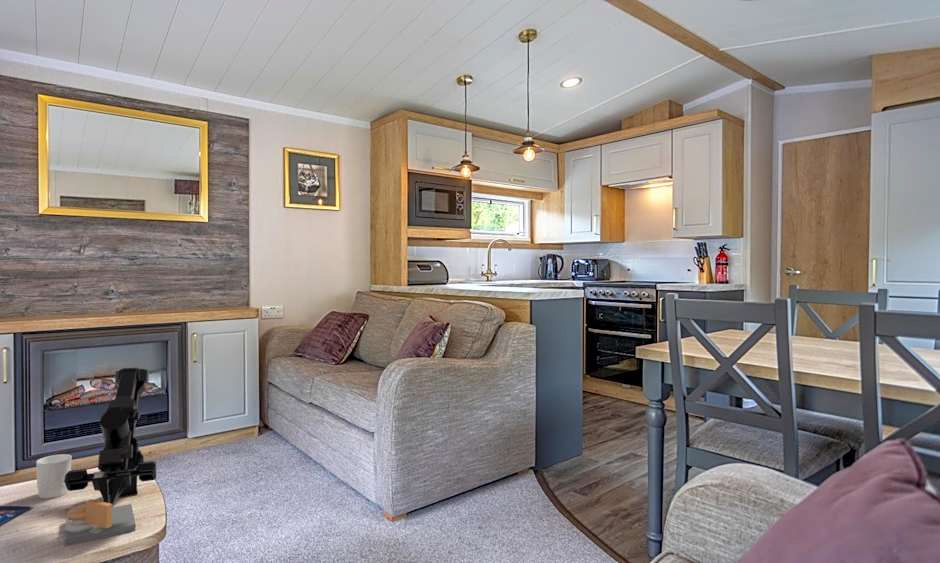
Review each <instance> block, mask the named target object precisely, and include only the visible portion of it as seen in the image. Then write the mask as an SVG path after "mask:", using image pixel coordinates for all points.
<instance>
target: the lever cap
mask: <svg viewBox="0 0 940 563" xmlns="http://www.w3.org/2000/svg"><path fill="white" fill-rule="evenodd" d="M112 508H113V507H112V504H110V502H109V503H106V502H104V501H100V500H96V499H88V500H85V505H79V506H75V507H72V508H70V509H69V510H68V511H67V513H66V514H67V516H66V517H67V519H68V520H82V519H85V523H86V524H91V525H95V526H99V527H103V528H109V527H111V526H112Z"/></svg>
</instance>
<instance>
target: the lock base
mask: <svg viewBox="0 0 940 563" xmlns="http://www.w3.org/2000/svg"><path fill="white" fill-rule="evenodd" d="M136 524H137V523H136V519H135V516H134V511H133V506H132V503H128V504H124V505H119V506H118V505H117V506H115V507H114V506H113V507H112V526H111V527H109V528H103V527H99V526H95V525H91V524H86V523H85V519H82V520H68V519H67V516H66V518H65V526H64V528H65V531H64V547H68V546H72V545H77V544H80V543H85V542H89V541H94V540H99V539H103V538H107V537H111V536H116V535H120V534H125V533H129V532H135V531H136V527H137V526H136Z"/></svg>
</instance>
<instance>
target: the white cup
mask: <svg viewBox="0 0 940 563" xmlns="http://www.w3.org/2000/svg"><path fill="white" fill-rule="evenodd" d="M72 458H73V456H72V455H70V454H68V453H67V454H66V453H65V454H63V453H60V454H53V455H48V456H44V457H41V458H38V459H37V460H36V462H35V464H36V466H35V467H36V483H37V484H36V486H37V491H38V492H37V496H38V498H39V499H42V500H43V499H44V500H45V499H46V500H47V499H53V498H54V499H55V498H58V497H62V496H64V495H66V494H68V493H69V492H70V491H69V490H67V487H66V485H65V482H64V480H65V475H66V473H67V472H69V471H71V470H72Z"/></svg>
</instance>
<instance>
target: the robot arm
mask: <svg viewBox="0 0 940 563" xmlns="http://www.w3.org/2000/svg"><path fill="white" fill-rule="evenodd" d="M149 374H150V373H149V371H148V369H145V368H138V367H123V368H120V369H119V370H117V371H115V376H114V377H115V378H114V384H115V385H117V389H116V394H115V398H114V399H113V400H112V401H111V400H110V402H108V405H107V407H106V410H104V411H103V413H102V415H101V417H100V419H99V423H100V429H101V432H102V436H103V438H104V442H103V447H102V450H99V452H98V463H97V469H98V470H99V471H94V472H93V473H88V471H87V468H82V469H71V471H69V472H67V473H66V475H65V480H64V482H65V485H66V487H67V490H69V491H68V492H72V491H73V492H74V491H81V490H85V489H86V488H87V487H88V486H89V483H92V486H93V489H94V491H99V492H100V494H101V497H102V500H103V501H102V502H106V503H110V504H112V508H113V507H114V506H115V503H116V502H117V501H118V499H120V498H125V497H129V496H135V495H136V496H137V495H138V493H139V492H138V480H139V481H141V482H149V481H154V480H157V473H158V472H157V463H156V462H155V460H151V461H145V458H144V457H145V456H144V455H143V453H142V450H140V447H139V443H138V440H137V438H136V437H135V435H136V424H137V422H138V421H139V419H140V417H141V412H139V408H138V405H139V397H140V396H141V395H142V394H143V393H144V392H145V391H146V386H147V384H149V380H150V378H149V377H150V375H149ZM109 498H110V499H109Z"/></svg>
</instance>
